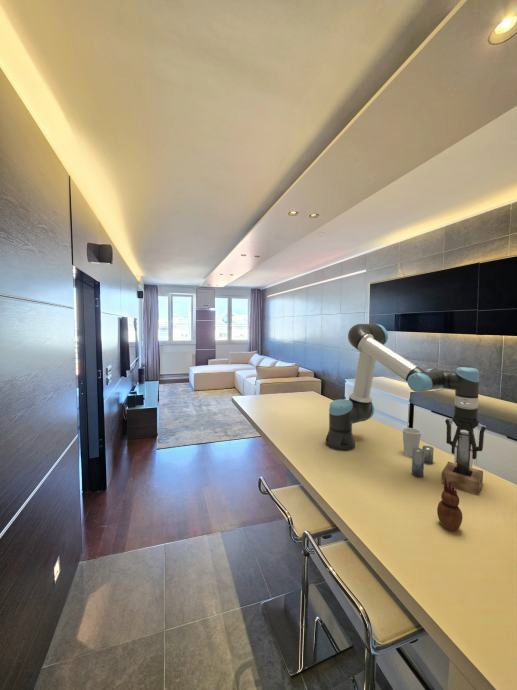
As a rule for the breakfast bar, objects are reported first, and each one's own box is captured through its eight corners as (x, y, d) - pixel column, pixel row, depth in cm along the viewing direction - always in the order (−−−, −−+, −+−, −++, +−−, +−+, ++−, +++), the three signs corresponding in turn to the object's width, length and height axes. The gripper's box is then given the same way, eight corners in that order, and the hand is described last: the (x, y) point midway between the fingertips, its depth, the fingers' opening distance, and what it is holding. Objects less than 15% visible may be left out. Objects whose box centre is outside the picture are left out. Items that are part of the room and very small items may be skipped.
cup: (422, 458, 140) (423, 434, 139) (404, 457, 142) (405, 433, 141) (417, 451, 148) (417, 428, 147) (399, 450, 150) (400, 427, 149)
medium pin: (410, 475, 125) (411, 450, 124) (413, 471, 128) (414, 446, 128) (421, 478, 122) (422, 453, 121) (424, 474, 125) (425, 449, 125)
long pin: (455, 473, 118) (457, 434, 117) (457, 469, 121) (459, 431, 120) (468, 476, 115) (470, 436, 114) (470, 472, 118) (472, 433, 117)
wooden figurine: (433, 519, 97) (435, 475, 96) (449, 518, 97) (451, 474, 96) (447, 534, 90) (450, 487, 89) (465, 533, 90) (468, 486, 89)
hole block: (441, 483, 118) (441, 471, 118) (447, 472, 127) (448, 461, 127) (478, 495, 110) (479, 482, 110) (482, 483, 119) (483, 471, 119)
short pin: (420, 462, 137) (421, 447, 136) (423, 459, 140) (424, 444, 139) (431, 465, 134) (432, 450, 133) (434, 462, 137) (434, 447, 136)
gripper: (438, 404, 120) (436, 460, 121) (493, 413, 108) (489, 475, 109) (442, 401, 125) (440, 454, 127) (495, 409, 113) (491, 467, 115)
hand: (463, 463), depth 118 cm, fingers closed on long pin, 4 cm apart
